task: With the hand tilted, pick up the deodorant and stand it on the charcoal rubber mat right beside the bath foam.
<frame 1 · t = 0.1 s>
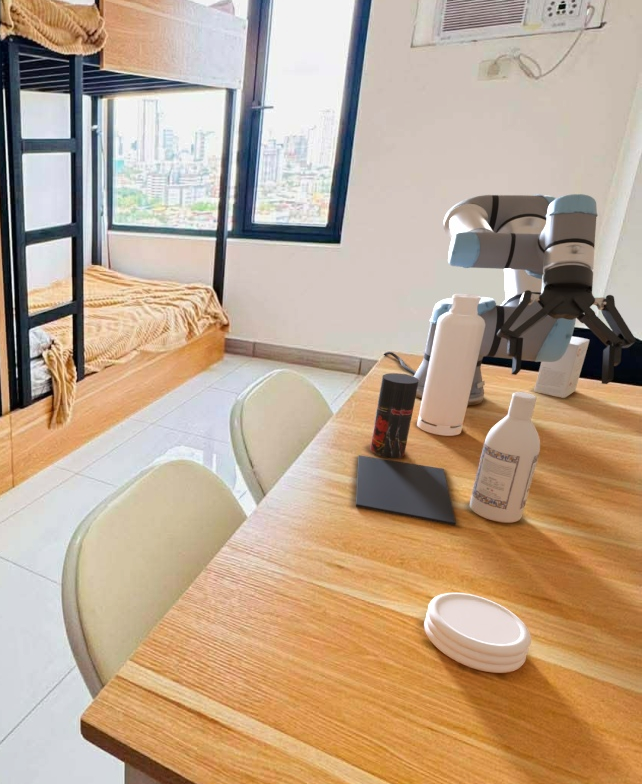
hand: (560, 377, 115), 15 cm above the table, tool tilted 35°, fingers open, 13 cm apart
small box: (553, 392, 151), on the table
bottle: (438, 428, 132), on the table
deodorant: (386, 452, 121), on the table
coaster: (471, 644, 73), on the table
bath foam: (494, 513, 100), on the table
mat: (401, 488, 108), on the table
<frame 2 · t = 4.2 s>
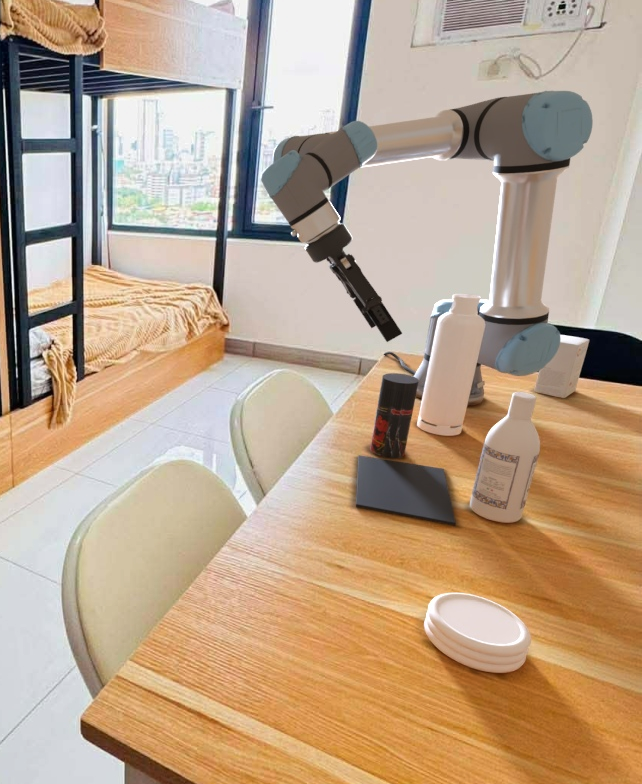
hand: (385, 330, 114), 24 cm above the table, tool tilted 35°, fingers open, 13 cm apart
nothing on the table moved.
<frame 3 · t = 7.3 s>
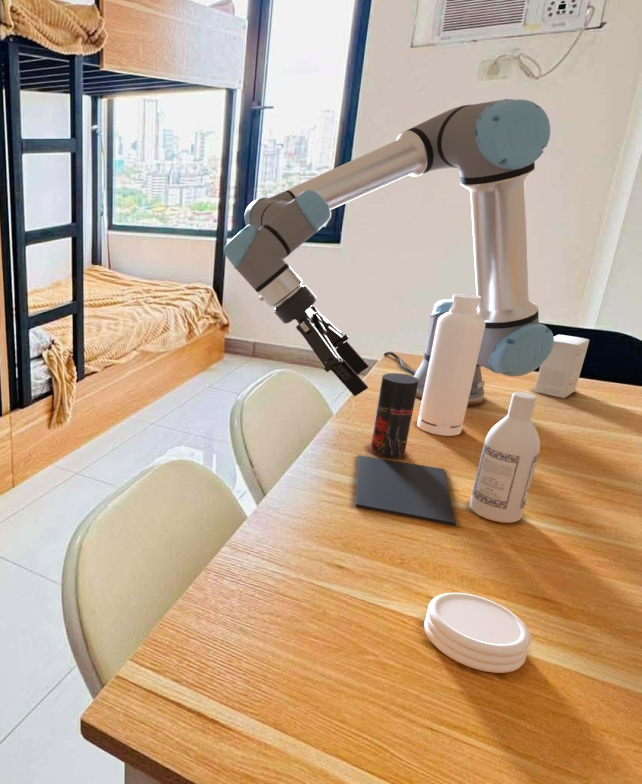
hand: (362, 380, 119), 14 cm above the table, tool tilted 45°, fingers open, 13 cm apart
nothing on the table moved.
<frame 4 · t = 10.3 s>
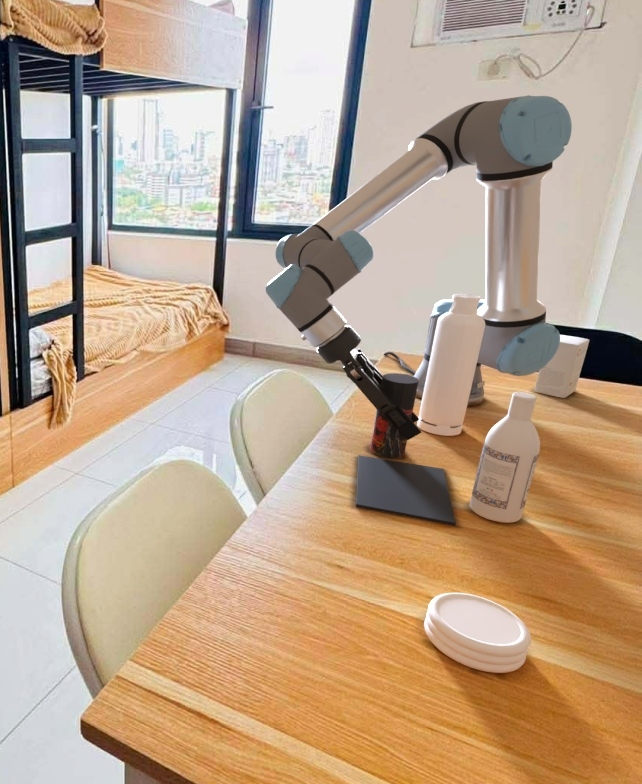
hand: (413, 429, 118), 5 cm above the table, tool tilted 45°, fingers closed on deodorant, 6 cm apart
deodorant: (386, 452, 121), on the table, touching gripper
everything else where it was.
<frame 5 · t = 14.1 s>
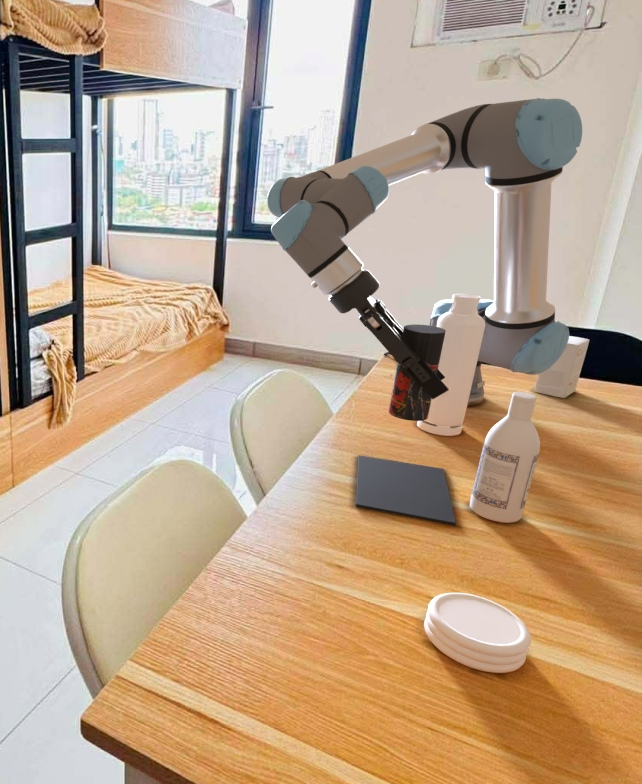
hand: (438, 387, 104), 18 cm above the table, tool tilted 45°, fingers closed on deodorant, 6 cm apart
deodorant: (407, 415, 107), point 12 cm above the table, touching gripper
everything else where it was.
when the fingers open (6 cm above the table, at t = 18.2 s): deodorant stays where it is, resting on mat.
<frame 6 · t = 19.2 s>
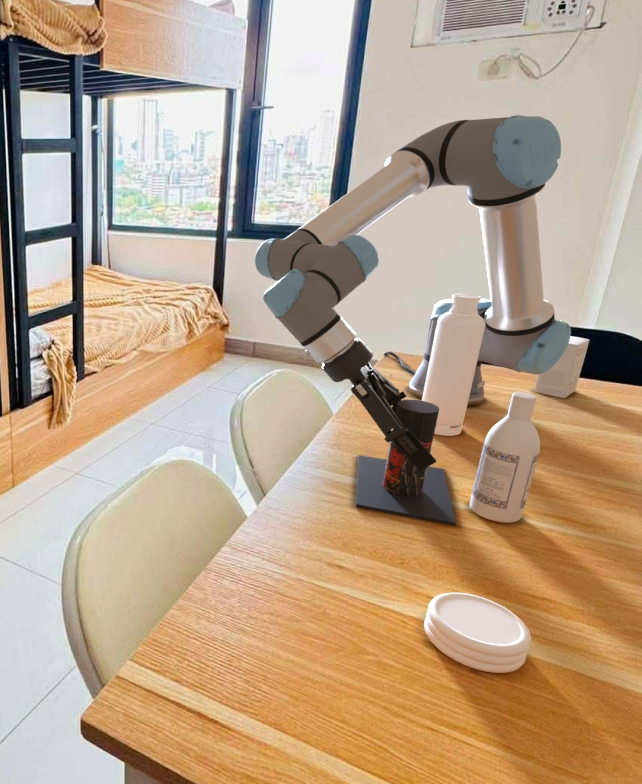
hand: (425, 448, 103), 8 cm above the table, tool tilted 45°, fingers open, 13 cm apart
deodorant: (401, 488, 107), resting on mat
everything else where it was.
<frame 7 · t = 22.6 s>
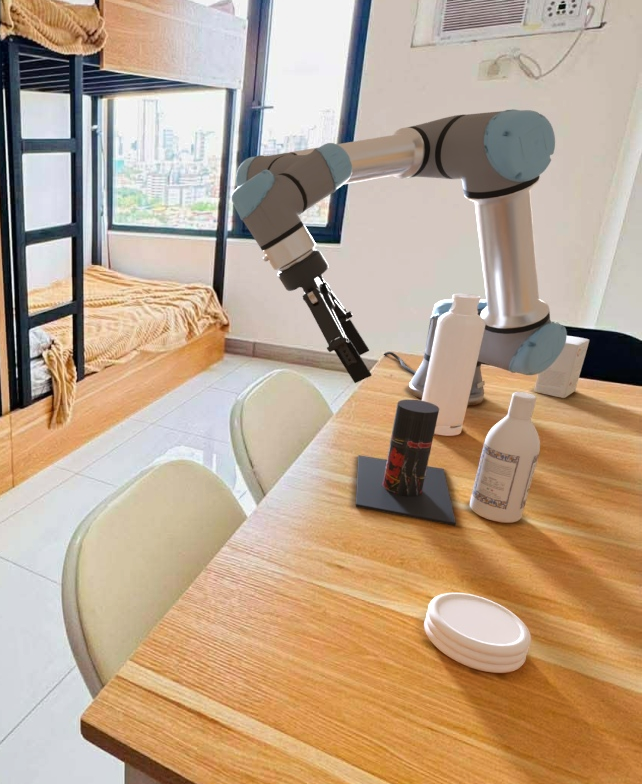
hand: (362, 365, 106), 20 cm above the table, tool tilted 35°, fingers open, 13 cm apart
nothing on the table moved.
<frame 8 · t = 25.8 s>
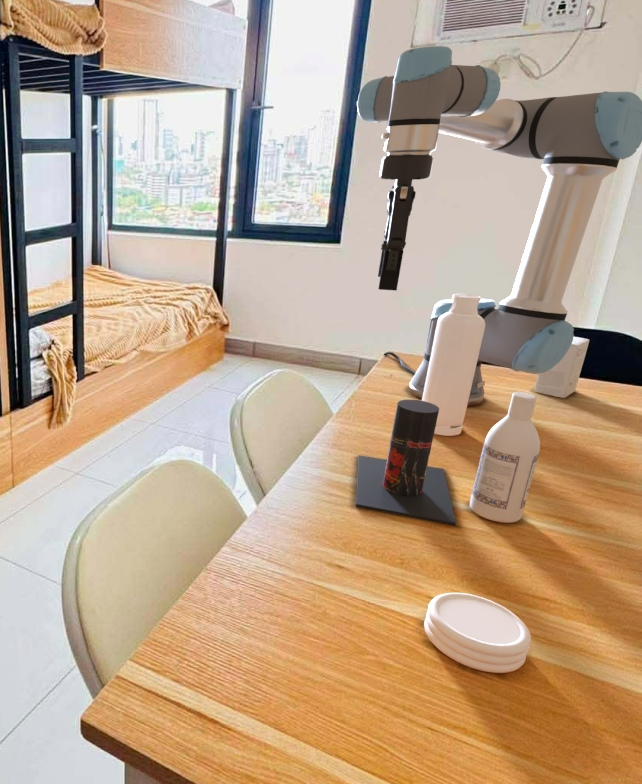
hand: (386, 283, 110), 33 cm above the table, tool pointing down, fingers open, 13 cm apart
nothing on the table moved.
at the end: deodorant inside the target area on the mat (1.0 cm from its centre), point 0.3 cm above the mat's base; deodorant 13.3 cm from the bath foam (horizontally); deodorant tilted 0° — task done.
